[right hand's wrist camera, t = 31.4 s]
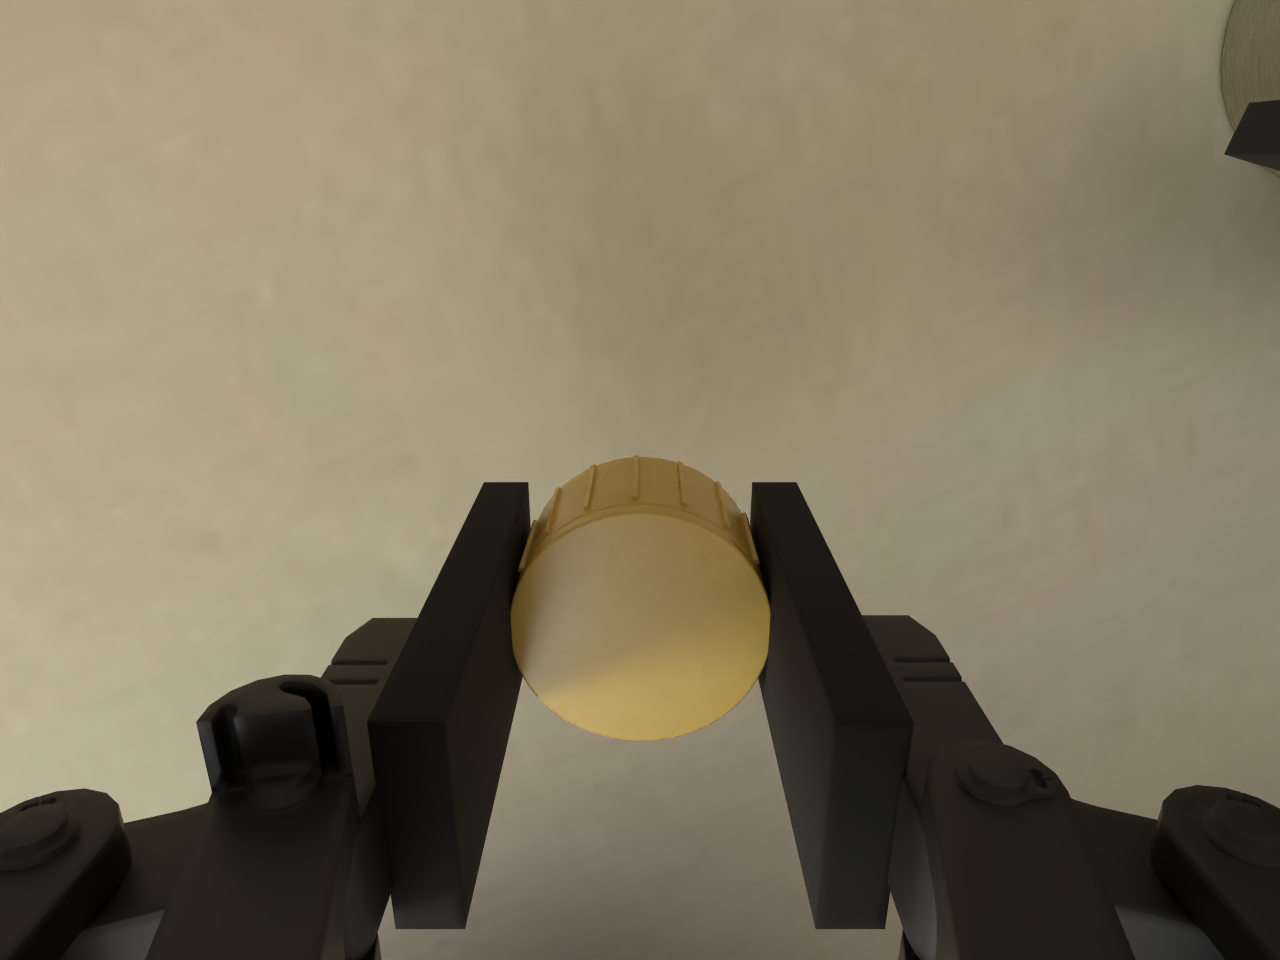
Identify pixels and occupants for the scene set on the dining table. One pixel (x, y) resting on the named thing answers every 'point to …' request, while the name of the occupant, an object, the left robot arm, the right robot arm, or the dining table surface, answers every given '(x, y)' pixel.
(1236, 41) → the bottle
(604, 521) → the cap
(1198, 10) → the dining table surface
